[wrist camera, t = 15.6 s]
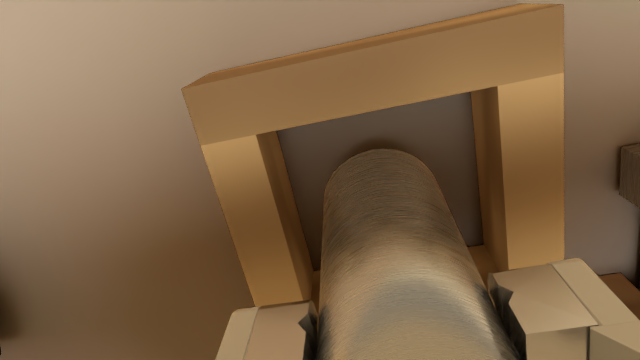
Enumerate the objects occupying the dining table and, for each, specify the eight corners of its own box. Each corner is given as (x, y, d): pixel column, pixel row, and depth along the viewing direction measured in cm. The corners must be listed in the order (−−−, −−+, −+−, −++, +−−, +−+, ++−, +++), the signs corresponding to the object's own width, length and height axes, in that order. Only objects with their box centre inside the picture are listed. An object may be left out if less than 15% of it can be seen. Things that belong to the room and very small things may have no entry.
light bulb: (451, 229, 12) (669, 733, 4) (346, 260, 13) (366, 750, 5) (421, 131, 11) (658, 598, 3) (305, 171, 12) (243, 646, 4)
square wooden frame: (530, 274, 15) (564, 323, 13) (283, 310, 16) (273, 361, 14) (520, 3, 12) (563, 4, 9) (210, 73, 13) (181, 89, 10)
